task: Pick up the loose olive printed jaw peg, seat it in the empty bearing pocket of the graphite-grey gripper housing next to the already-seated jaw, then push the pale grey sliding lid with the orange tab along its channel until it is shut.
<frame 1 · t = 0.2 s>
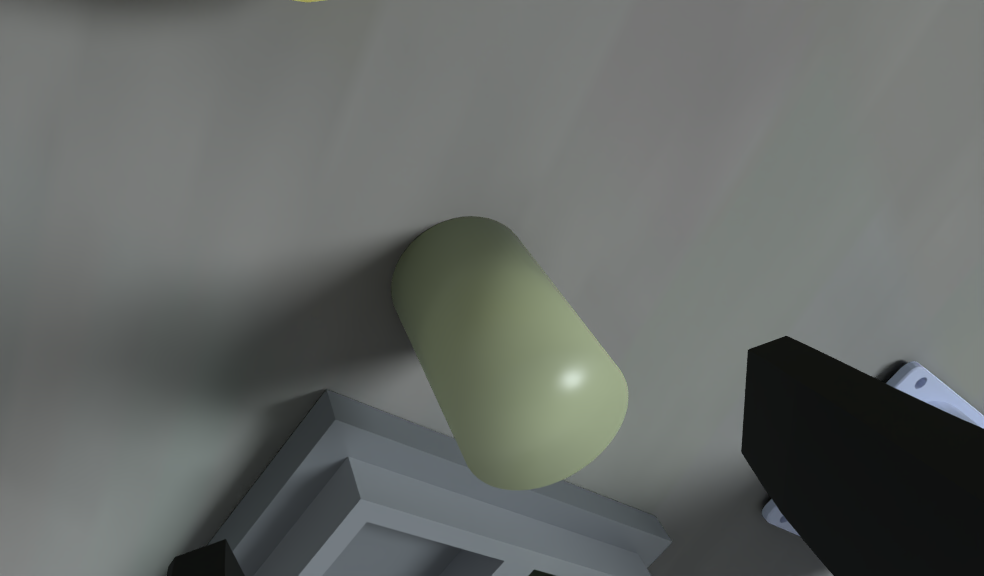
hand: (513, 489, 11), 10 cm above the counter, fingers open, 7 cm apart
jaw peg: (460, 280, 21), on the counter
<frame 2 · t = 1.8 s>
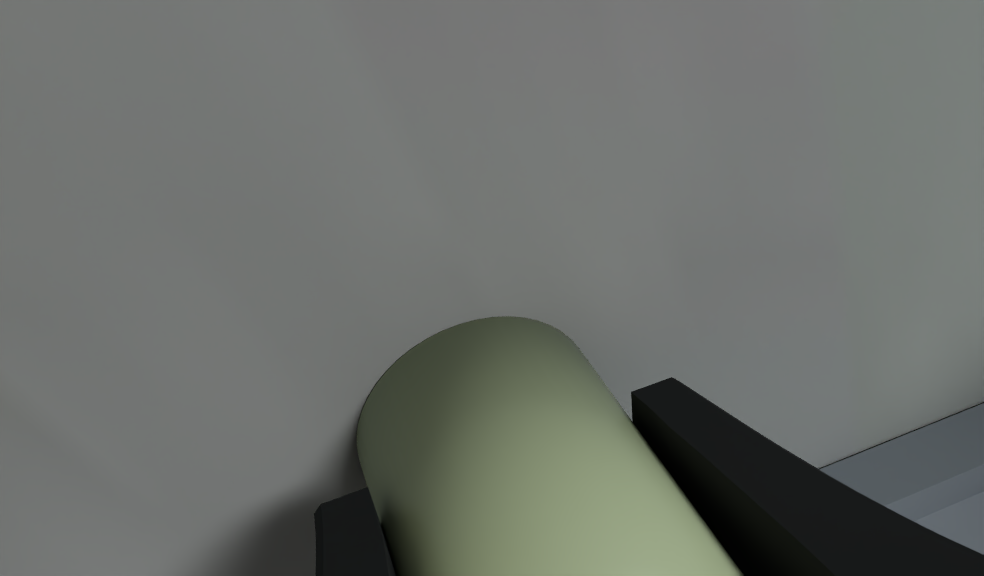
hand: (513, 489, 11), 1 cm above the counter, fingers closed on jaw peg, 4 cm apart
jaw peg: (478, 419, 12), on the counter, touching gripper
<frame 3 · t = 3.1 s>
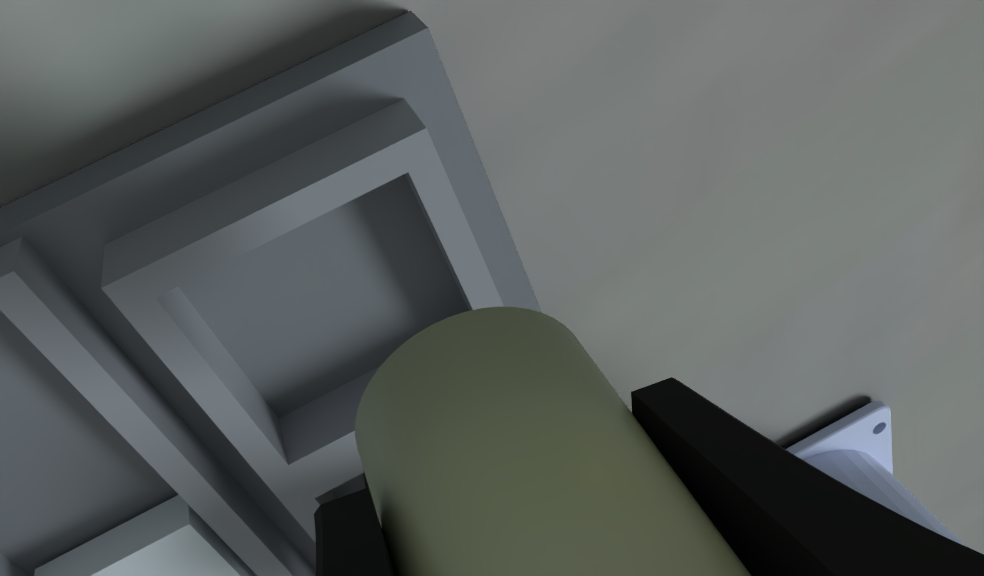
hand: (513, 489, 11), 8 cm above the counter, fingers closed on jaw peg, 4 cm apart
jaw peg: (477, 410, 12), point 7 cm above the counter, touching gripper
housing: (268, 409, 19), on the counter
when the fingers open (4 cm above the counter, at t = 4.5 s): jaw peg stays where it is, resting on housing.
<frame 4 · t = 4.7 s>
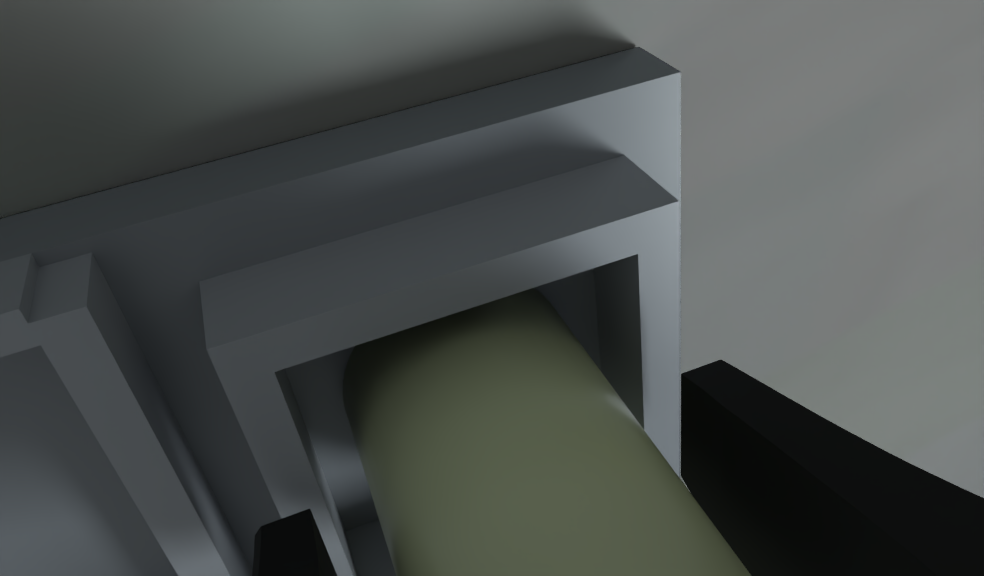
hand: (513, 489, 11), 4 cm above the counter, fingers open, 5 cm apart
jaw peg: (458, 373, 13), point 1 cm above the counter, touching housing
housing: (319, 510, 15), on the counter
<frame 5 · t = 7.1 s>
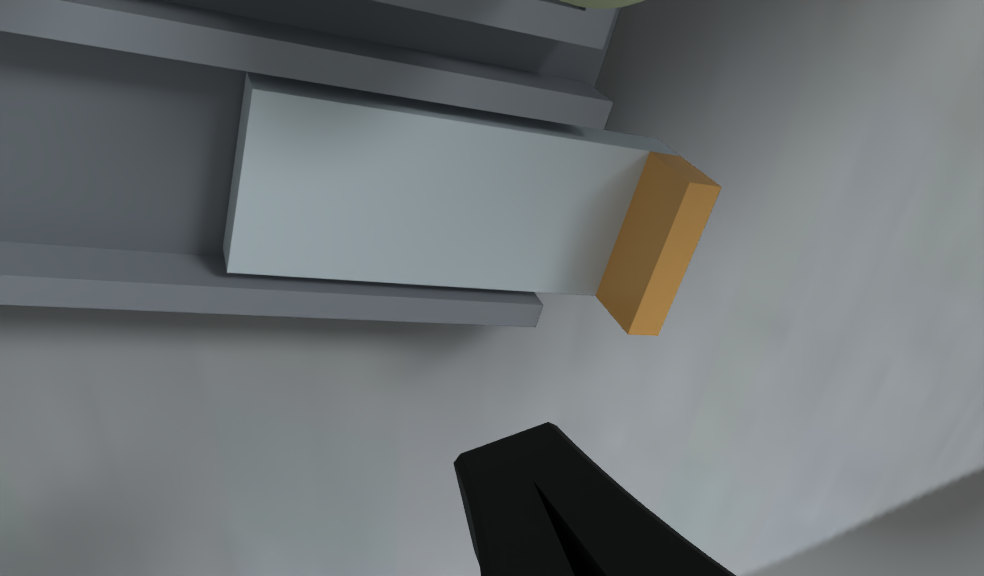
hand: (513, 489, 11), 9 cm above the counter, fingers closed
lid: (473, 216, 16), point 3 cm above the counter, slide at -6.0 cm
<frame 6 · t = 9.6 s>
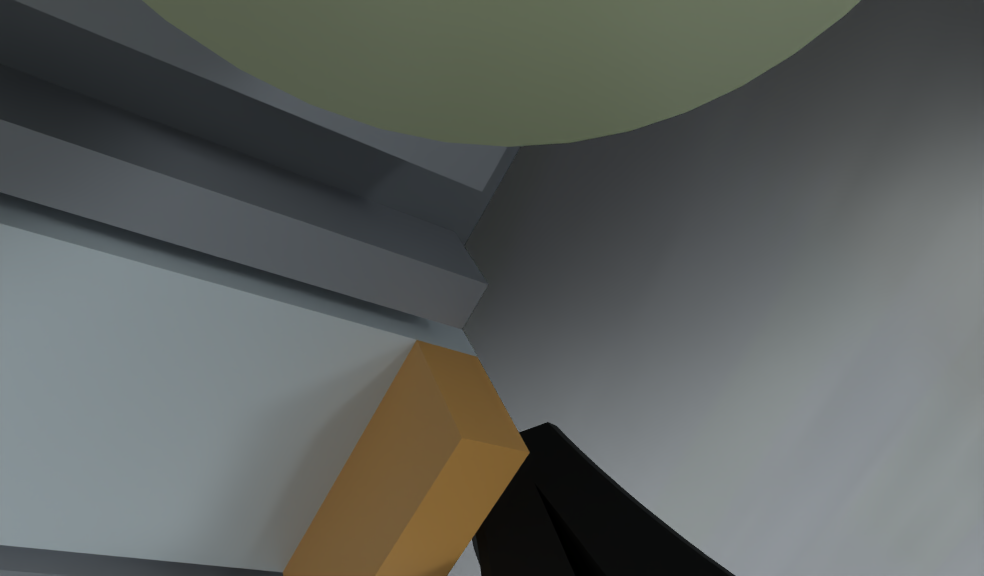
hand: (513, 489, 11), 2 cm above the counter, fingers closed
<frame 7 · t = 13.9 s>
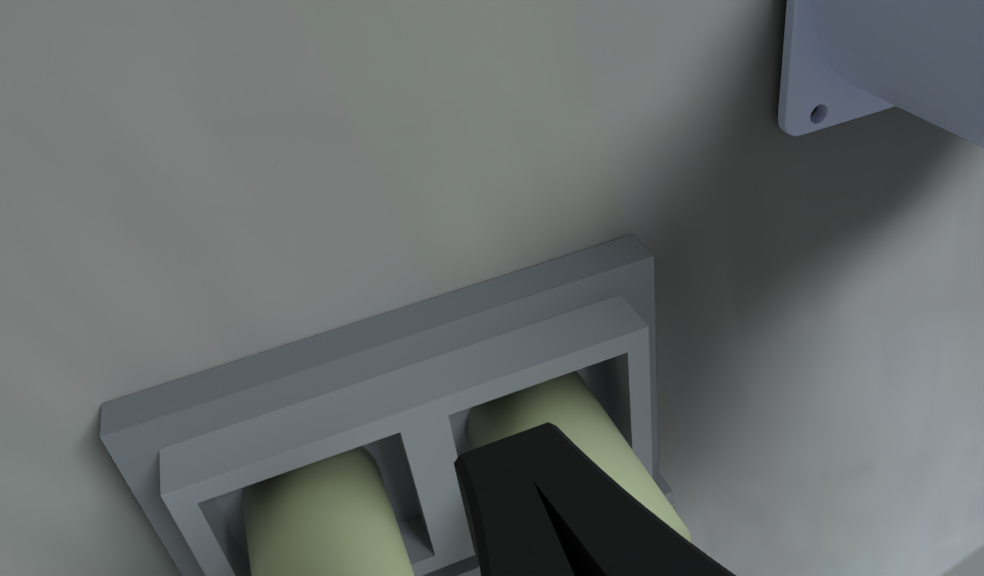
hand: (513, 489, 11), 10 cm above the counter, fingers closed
jaw peg: (313, 489, 22), point 1 cm above the counter, touching housing
housing: (431, 487, 25), on the counter
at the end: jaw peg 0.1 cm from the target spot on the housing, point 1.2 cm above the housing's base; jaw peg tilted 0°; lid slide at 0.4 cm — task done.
